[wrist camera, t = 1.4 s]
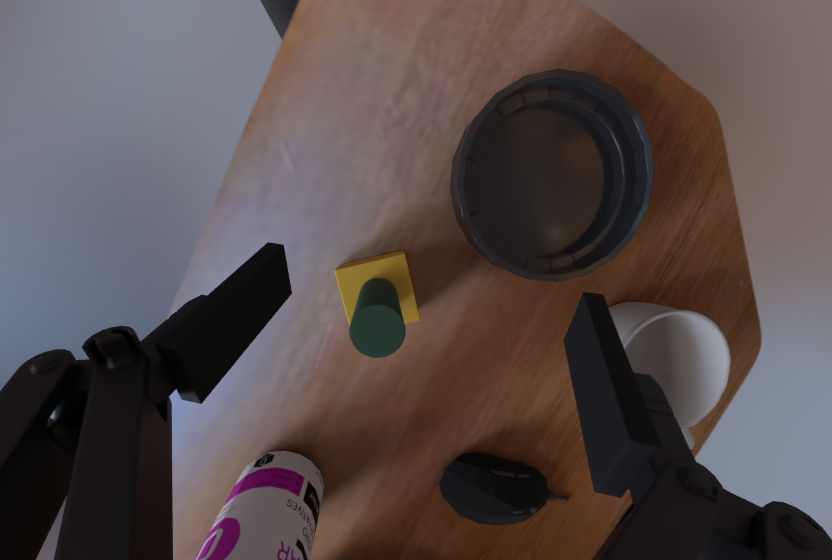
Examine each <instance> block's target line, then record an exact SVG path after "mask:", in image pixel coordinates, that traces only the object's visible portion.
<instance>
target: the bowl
mask: <svg viewBox="0 0 832 560" xmlns="http://www.w3.org/2000/svg"><path fill="white" fill-rule="evenodd" d="M653 179H654V166H653V156H652V147H651V141H650V138H649V136H648V134H647V131H646V129H645V127H644V124H643V122H642V119H641V117H640V115H639V113H638V111H637V110H636V109H635V108H634V107H633V106H632V105H631V103H630V102H629V101H628V100H627V99H626V98H625V97H624V96H623V94H622V93H621V92H620V91H619V90H618V89H617V88H615V87H613V86H611V85H610V84H608V83H606V82H604V81H602V80H600V79H599V78H597V77H595V76H593V75H591V74H589V73H583V72H576V71H569V70H562V69H555V70H550V71H545V72H541V73H536V74H531V75H527V76H524V77H522V78H521V79H519V80H517V81H516V82H514V83H513V84H511V85H509V86H508V87H506V88H504V89H503V90H501V91H499V92H498V93H496V94H495V95H494V96H493V98H492V99H491V100H490V101H489V102H488V103H487V104H486V105H485V106H484V108H483V109H482V110H481V111H480V112H479V114H478V115H477V116H476V117H475V118H474V119H473V121H472V122H471V123H470V124H469V125H468V126H467V128H466V129H465V131H464V134H463V136H462V138H461V141H460V143H459V145H458V148H457V150H456V153H455V155H454V157H453V164H452V174H451V184H450V192H451V197H452V202H453V207H454V212H455V217H456V220H457V222H458V224H459V226H460V227H461V229H462V231H463V233H464V234H465V236H466V238H467V240H468V242H469V243H470V245H471V246H472V247H473V248H474V249H475V250H477V251H478V252H479V253H480V254H481V255H482V256H483V257H484V258H485V259H486V260H488V261H489V262H490V263H491V264H493V265H495V266H497V267H500V268H502V269H504V270H507V271H509V272H511V273H514V274H516V275H518V276H521V277H523V278H526V279H529V280H542V281H556V282H557V281H563V280H567V279H571V278H575V277H579V276H583V275H586V274H588V273H590V272H592V271H593V270H595V269H597V268H598V267H600V266H602V265H603V264H605V263H607V262H608V261H610V260H611V259H613V258H614V257H615V256H616V255H617V254H618V253H619V252H620V250H621V249H622V248H623V247H624V246H625V245H626V244H627V243H628V242H629V241H630V239H631V238H632V237H633V236H634V235H635V233H636V231H637V229H638V227H639V225H640V223H641V221H642V218H643V216H644V214H645V212H646V210H647V208H648V206H649V201H650V196H651V190H652V185H653Z"/></svg>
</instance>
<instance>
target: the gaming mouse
mask: <svg viewBox="0 0 832 560" xmlns="http://www.w3.org/2000/svg"><path fill="white" fill-rule="evenodd" d="M439 485H440V489H441V493H442V496H443V498H444V499H445V500H446V501H447V502H448V503H449V504H450V505H451V506H452V507H453V508H454V510H455V511H456V512H457V513H458V514H459V515H460V516H462V517H464V518H467V519H469V520H472V521H474V522H477V523H479V524H488V525H505V524H514V523H518V522H522V521H526V520H527V519H529V518H530V517H532V516H533V515H534V514H535V513H536V512H537V511H539V510H540V509H541V508H542V507H543V506H544V505H545V503H546V501H547V499H549V500H555V499H558V500H565V501H568V500H569V498H568V497H566V496H559V495H555V494H554V493H549V492H548V487H547V481H546V479H545V477H544V476H543V475H542V474H541V473H540V472H538V471H537V470H536V469H535V468H533V467H530V466H527V465H524V464H521V463H517V462H513V461H510V460H506V459H502V458H499V457H496V456H493V455H488V454H484V453H464V454H462V455H460V456H458V457H457V458H456V459H455V460H454V461H453V462H451V463H450V464H449V465H448V466H447V467H445V469H444V472H443V474H442V477H441V480H440V484H439Z"/></svg>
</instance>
